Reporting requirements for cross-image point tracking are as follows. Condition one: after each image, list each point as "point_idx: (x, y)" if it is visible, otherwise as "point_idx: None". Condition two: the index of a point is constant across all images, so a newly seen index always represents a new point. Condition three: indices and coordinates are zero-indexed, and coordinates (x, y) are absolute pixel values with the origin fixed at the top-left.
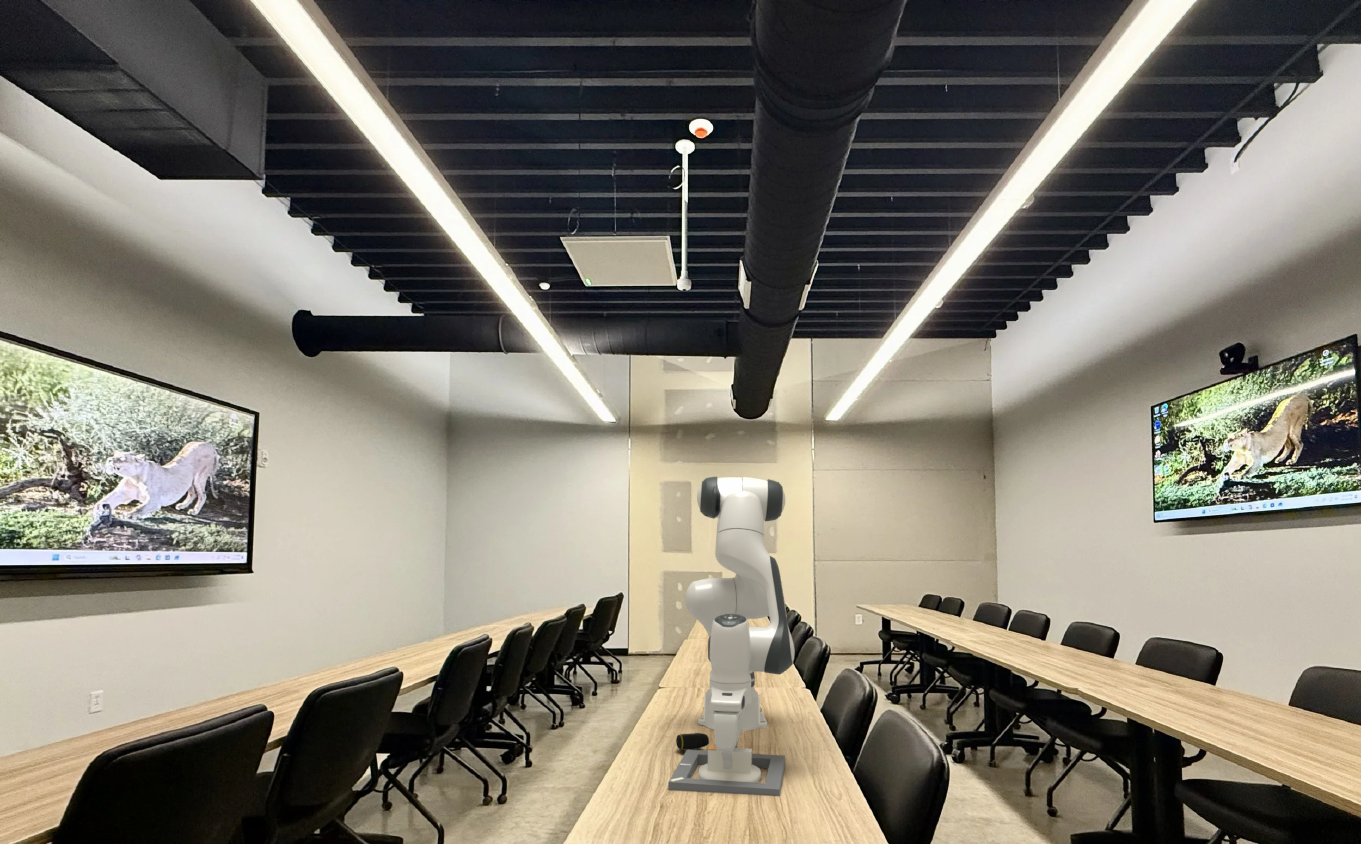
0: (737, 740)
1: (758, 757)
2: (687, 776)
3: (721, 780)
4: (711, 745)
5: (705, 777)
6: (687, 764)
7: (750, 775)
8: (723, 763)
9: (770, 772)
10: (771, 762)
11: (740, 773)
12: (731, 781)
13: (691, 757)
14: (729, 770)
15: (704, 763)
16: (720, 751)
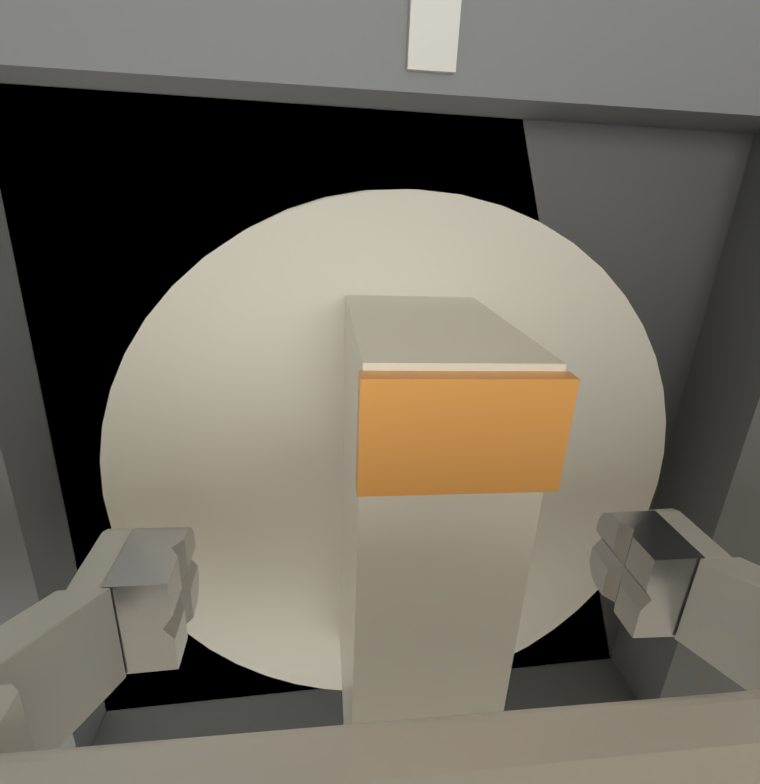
0: (746, 686)
1: (687, 655)
2: (54, 71)
3: (9, 479)
4: (541, 407)
5: (168, 290)
6: (440, 16)
7: (301, 642)
8: (84, 565)
9: None
10: None
11: (334, 574)
12: (17, 563)
13: (746, 43)
14: (342, 503)
15: (749, 201)
16: (356, 537)
